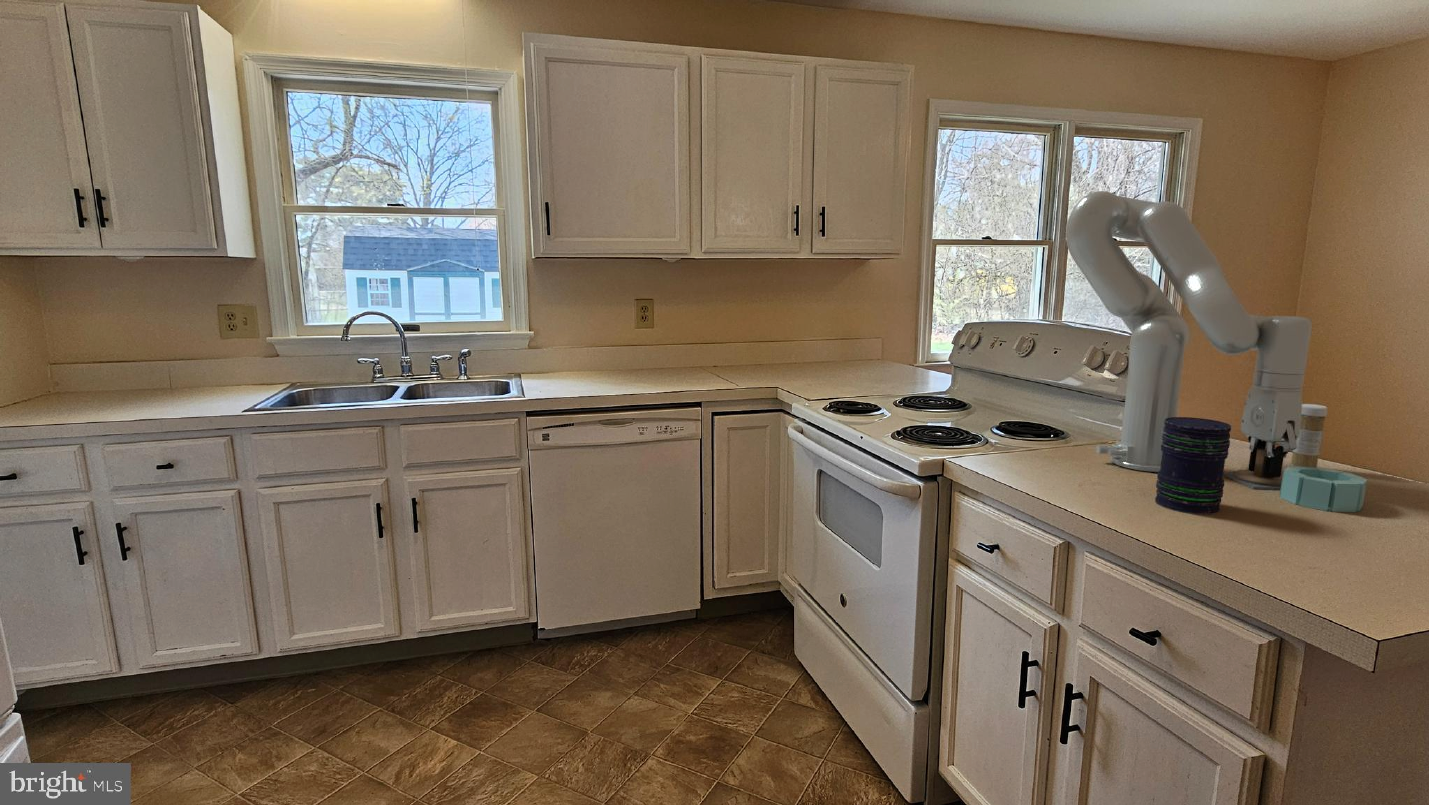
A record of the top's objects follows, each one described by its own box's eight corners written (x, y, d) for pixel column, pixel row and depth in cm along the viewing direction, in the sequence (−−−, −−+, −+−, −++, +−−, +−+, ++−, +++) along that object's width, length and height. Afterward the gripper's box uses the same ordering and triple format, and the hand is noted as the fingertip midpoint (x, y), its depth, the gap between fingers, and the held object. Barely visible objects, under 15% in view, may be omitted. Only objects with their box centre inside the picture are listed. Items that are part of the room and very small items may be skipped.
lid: (1253, 486, 136) (1258, 456, 135) (1224, 472, 145) (1228, 445, 144) (1304, 487, 135) (1309, 457, 134) (1271, 473, 144) (1276, 446, 143)
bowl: (1310, 511, 123) (1314, 483, 122) (1266, 491, 134) (1270, 465, 133) (1378, 512, 122) (1383, 484, 121) (1329, 493, 133) (1333, 467, 132)
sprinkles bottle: (1292, 464, 153) (1302, 402, 150) (1320, 468, 149) (1330, 405, 147) (1286, 467, 150) (1296, 405, 148) (1314, 472, 147) (1324, 408, 144)
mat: (1253, 489, 136) (1253, 486, 136) (1220, 474, 145) (1221, 472, 145) (1309, 490, 135) (1309, 488, 135) (1272, 475, 145) (1272, 473, 145)
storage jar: (1142, 502, 128) (1152, 420, 125) (1172, 493, 133) (1182, 414, 130) (1202, 518, 120) (1214, 431, 117) (1232, 508, 124) (1244, 425, 122)
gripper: (1230, 374, 145) (1218, 462, 148) (1287, 388, 129) (1272, 486, 132) (1269, 375, 144) (1256, 463, 148) (1331, 388, 128) (1315, 487, 132)
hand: (1264, 473), depth 140 cm, fingers closed on lid, 3 cm apart
